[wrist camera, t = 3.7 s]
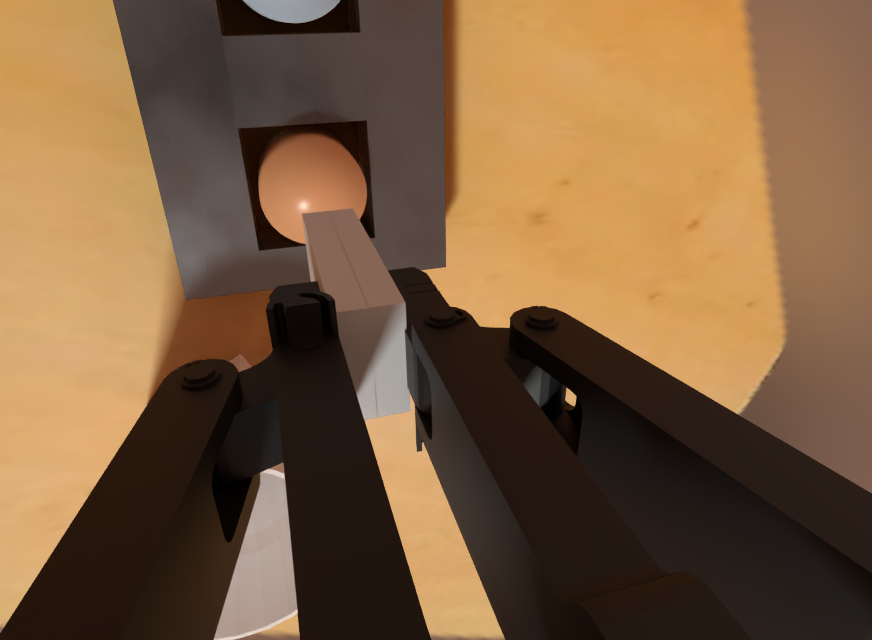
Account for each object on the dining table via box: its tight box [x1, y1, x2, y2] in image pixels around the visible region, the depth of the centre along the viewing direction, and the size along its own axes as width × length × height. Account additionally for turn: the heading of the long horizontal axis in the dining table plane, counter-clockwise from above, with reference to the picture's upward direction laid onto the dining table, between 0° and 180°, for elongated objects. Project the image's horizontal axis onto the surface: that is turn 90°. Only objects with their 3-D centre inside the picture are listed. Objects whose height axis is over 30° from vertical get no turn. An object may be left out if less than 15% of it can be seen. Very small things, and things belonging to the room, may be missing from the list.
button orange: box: [258, 125, 367, 244], centre depth 25 cm, size 4×4×4 cm
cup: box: [176, 354, 298, 640], centre depth 28 cm, size 10×10×10 cm
